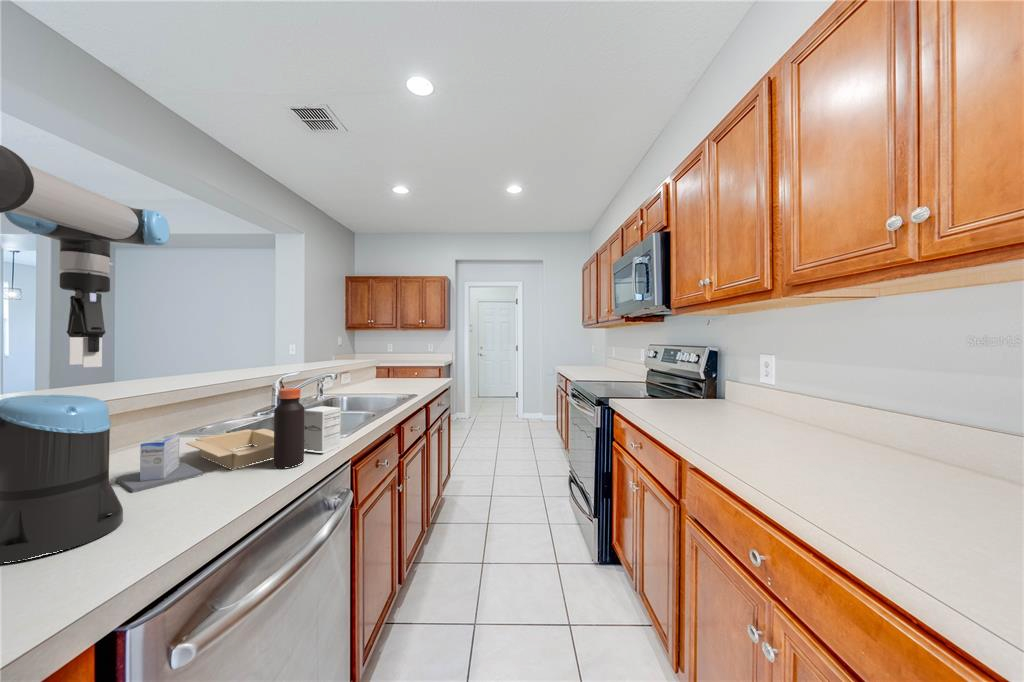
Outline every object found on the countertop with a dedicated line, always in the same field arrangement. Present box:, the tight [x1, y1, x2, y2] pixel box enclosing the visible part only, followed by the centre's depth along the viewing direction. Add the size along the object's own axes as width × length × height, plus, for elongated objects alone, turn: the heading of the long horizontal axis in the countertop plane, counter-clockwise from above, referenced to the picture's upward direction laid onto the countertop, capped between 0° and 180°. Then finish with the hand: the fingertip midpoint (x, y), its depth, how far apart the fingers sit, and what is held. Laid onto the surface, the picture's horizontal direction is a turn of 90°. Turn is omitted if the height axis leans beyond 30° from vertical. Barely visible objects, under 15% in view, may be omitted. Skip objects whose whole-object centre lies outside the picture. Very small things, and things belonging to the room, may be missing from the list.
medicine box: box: [139, 433, 181, 481], centre depth 85 cm, size 8×4×9 cm, turn 25°
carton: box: [185, 428, 274, 470], centre depth 102 cm, size 26×19×4 cm
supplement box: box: [304, 405, 342, 451], centre depth 108 cm, size 7×7×13 cm
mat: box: [116, 462, 203, 493], centre depth 85 cm, size 12×12×1 cm
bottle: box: [273, 387, 305, 469], centre depth 95 cm, size 7×7×20 cm
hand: (84, 365), depth 83 cm, fingers open, 13 cm apart
